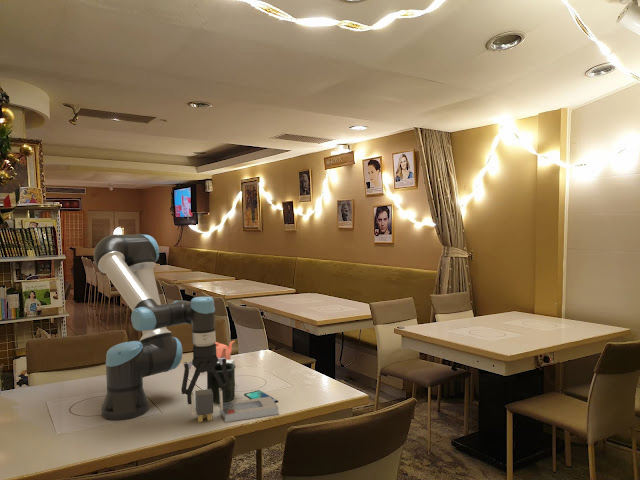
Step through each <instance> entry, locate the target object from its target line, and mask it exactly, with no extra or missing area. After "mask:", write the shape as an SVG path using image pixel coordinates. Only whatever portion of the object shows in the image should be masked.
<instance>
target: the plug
mask: <svg viewBox="0 0 640 480" xmlns="http://www.w3.org/2000/svg"><path fill="white" fill-rule="evenodd" d="M194 393H195V395H194V397H195V399H194V403H195V413H196V416H197V422H198V423H201V422H203V419H206V420H207V421H212V420H213V414H214V402H213V392H212V390H211V389H207V388H205V389H199V390H195V392H194Z"/></svg>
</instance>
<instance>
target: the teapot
mask: <svg viewBox="0 0 640 480" xmlns="http://www.w3.org/2000/svg"><path fill="white" fill-rule="evenodd" d="M235 342H236V341H235V340H232V341H230V342H229V344H228V345H226V344H224V343H220V342H217V341H216V342H215V344H216V355H217V358H223V357H225V359H226V360H232V359H231V355H232V352H233V344H234V343H235Z"/></svg>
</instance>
